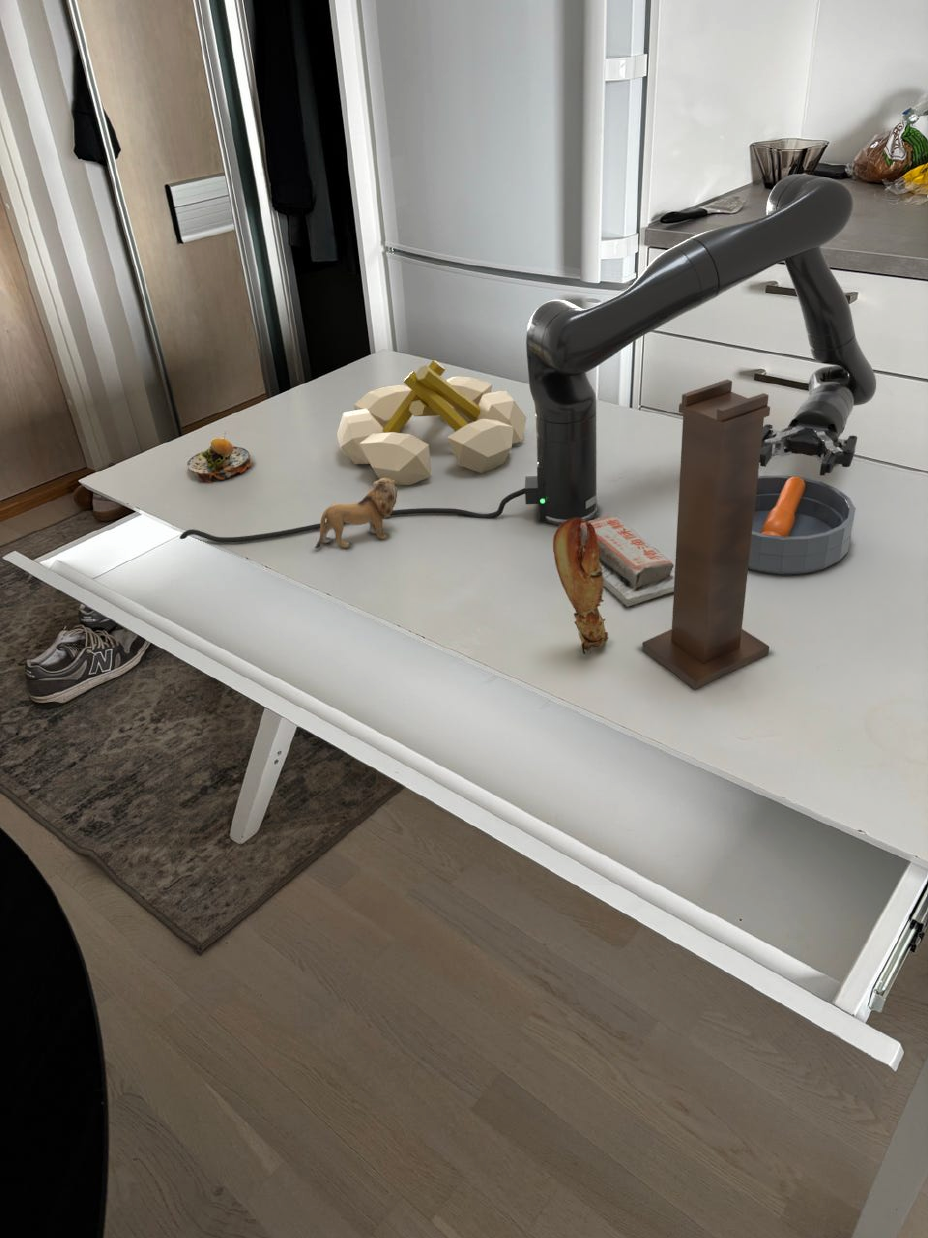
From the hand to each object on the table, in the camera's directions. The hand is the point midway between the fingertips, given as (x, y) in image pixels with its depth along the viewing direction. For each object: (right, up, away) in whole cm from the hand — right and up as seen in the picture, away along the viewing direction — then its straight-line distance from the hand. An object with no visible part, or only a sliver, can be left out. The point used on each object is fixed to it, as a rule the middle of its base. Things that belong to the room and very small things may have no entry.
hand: (792, 465), depth 137 cm
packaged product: (-24, -15, 0) cm, 29 cm away
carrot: (-1, -9, +3) cm, 9 cm away
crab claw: (-32, -26, -15) cm, 44 cm away
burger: (-94, +6, +41) cm, 103 cm away
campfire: (-53, +10, +42) cm, 69 cm away
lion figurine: (-64, -9, +15) cm, 66 cm away
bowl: (-1, -11, +3) cm, 11 cm away
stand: (-17, -26, -17) cm, 36 cm away
